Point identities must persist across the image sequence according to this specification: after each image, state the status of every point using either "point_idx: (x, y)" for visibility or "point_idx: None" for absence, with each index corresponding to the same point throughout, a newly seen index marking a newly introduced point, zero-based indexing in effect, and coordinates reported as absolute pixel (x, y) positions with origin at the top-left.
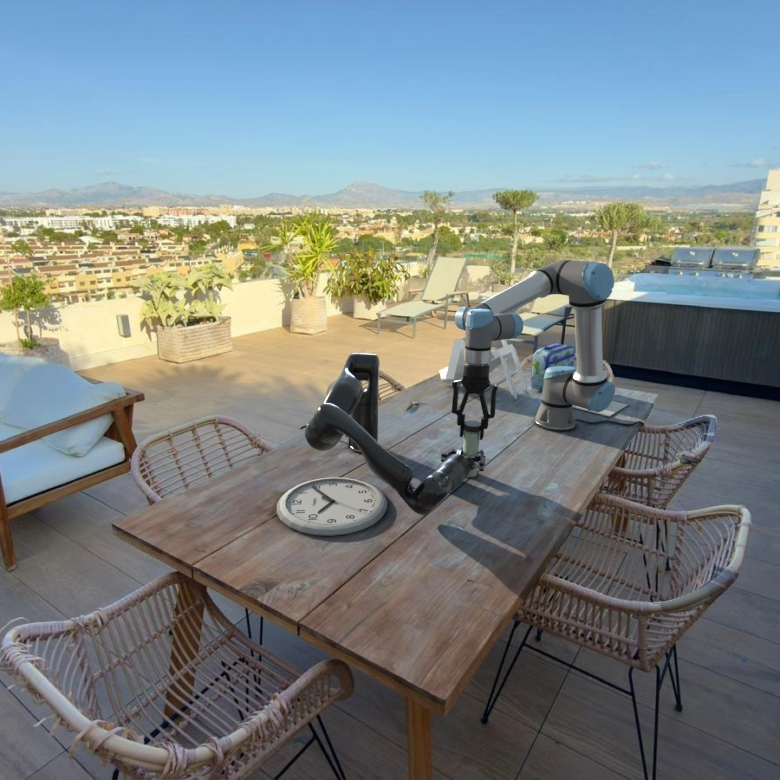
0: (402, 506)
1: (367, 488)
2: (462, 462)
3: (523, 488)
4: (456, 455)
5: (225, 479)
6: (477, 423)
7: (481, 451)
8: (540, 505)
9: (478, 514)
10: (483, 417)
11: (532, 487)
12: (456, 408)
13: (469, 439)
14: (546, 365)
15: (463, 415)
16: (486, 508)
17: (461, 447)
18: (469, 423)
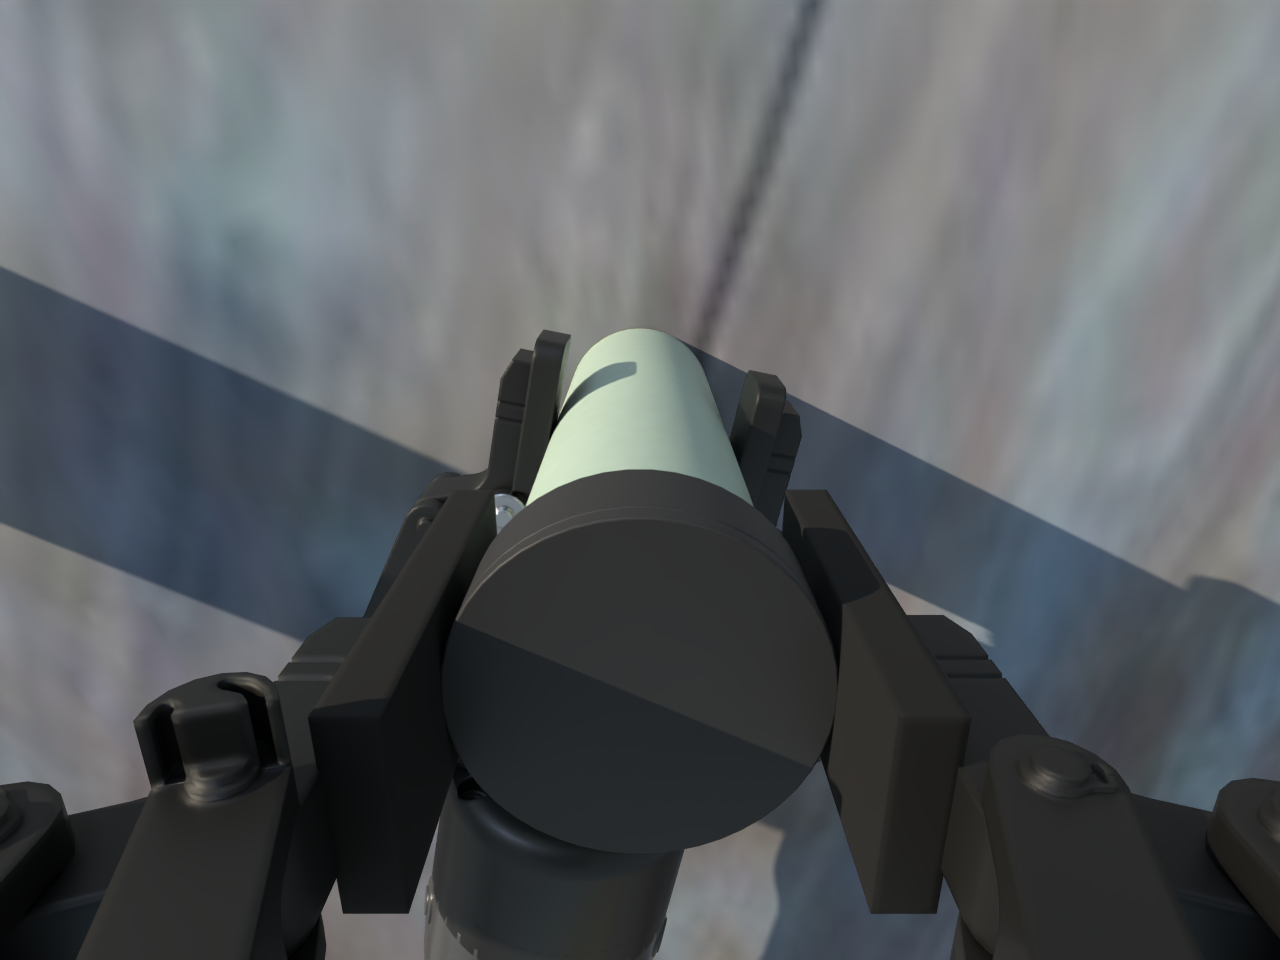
0: (336, 950)
1: None
2: (631, 940)
3: (1109, 504)
4: (546, 908)
5: None
6: (745, 667)
7: (772, 447)
8: (1195, 704)
9: (785, 903)
10: (928, 782)
11: (1189, 463)
12: (8, 922)
13: None
14: None
15: (367, 809)
16: (828, 836)
17: (502, 380)
18: (574, 720)
